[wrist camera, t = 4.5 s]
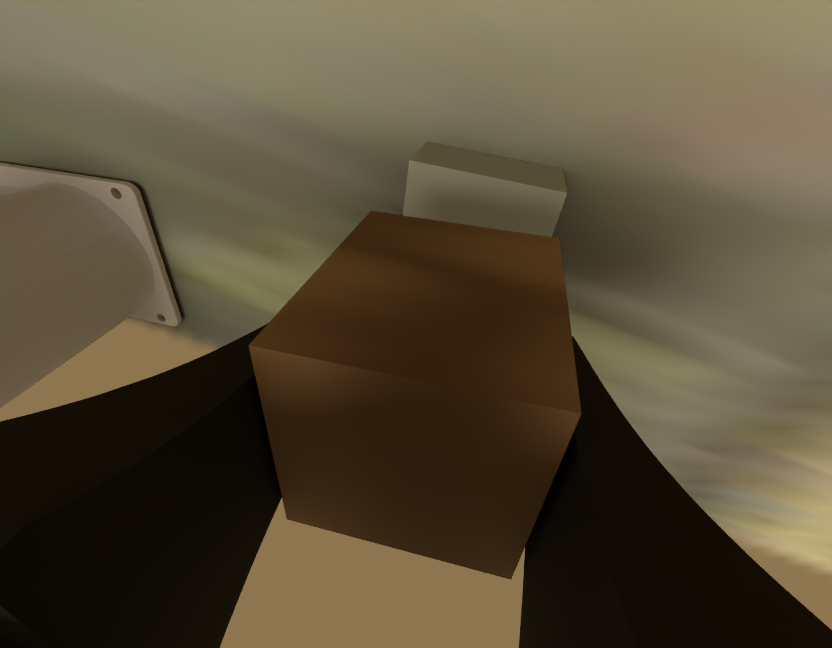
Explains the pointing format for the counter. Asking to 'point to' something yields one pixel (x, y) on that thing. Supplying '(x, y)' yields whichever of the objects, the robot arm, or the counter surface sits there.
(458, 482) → the walnut block
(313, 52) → the counter surface
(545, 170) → the slate block
